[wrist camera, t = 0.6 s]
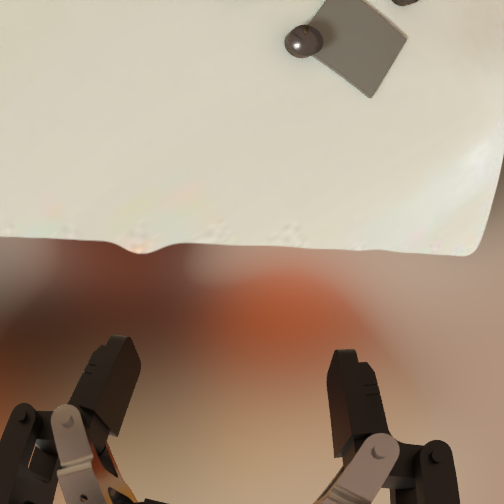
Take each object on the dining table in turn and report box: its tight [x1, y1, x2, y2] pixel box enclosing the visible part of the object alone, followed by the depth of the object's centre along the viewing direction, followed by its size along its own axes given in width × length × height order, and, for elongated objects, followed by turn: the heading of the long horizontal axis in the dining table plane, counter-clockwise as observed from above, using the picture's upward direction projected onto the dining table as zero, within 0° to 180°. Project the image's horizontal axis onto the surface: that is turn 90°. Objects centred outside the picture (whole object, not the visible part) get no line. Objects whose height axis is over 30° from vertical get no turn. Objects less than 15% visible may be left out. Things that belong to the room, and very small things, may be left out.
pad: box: [309, 0, 406, 98], centre depth 25 cm, size 11×11×1 cm
